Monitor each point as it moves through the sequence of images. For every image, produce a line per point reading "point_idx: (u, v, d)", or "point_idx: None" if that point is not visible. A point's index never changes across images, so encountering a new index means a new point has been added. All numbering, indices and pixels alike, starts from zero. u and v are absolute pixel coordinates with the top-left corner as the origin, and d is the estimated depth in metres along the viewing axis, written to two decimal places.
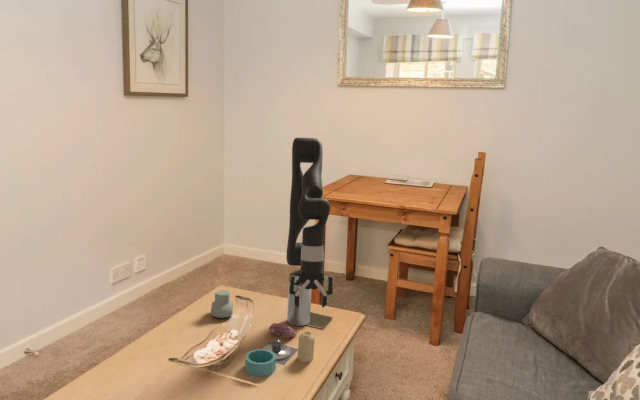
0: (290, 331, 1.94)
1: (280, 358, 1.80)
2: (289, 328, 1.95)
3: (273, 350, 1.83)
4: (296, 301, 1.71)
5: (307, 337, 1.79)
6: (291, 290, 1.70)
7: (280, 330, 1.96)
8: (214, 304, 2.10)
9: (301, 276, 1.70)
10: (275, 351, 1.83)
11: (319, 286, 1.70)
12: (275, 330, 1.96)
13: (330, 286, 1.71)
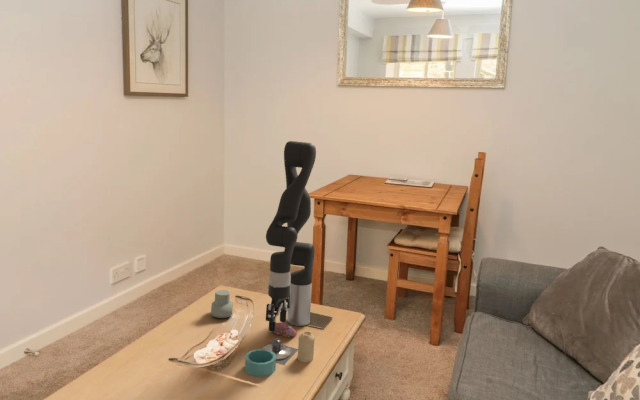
0: (291, 330, 1.95)
1: (280, 358, 1.80)
2: (290, 327, 1.95)
3: (273, 350, 1.83)
4: (273, 326, 1.77)
5: (307, 337, 1.79)
6: (272, 318, 1.75)
7: (281, 329, 1.96)
8: (214, 304, 2.10)
9: (277, 302, 1.77)
10: (275, 351, 1.83)
11: (286, 305, 1.83)
12: (276, 329, 1.97)
13: (289, 301, 1.86)
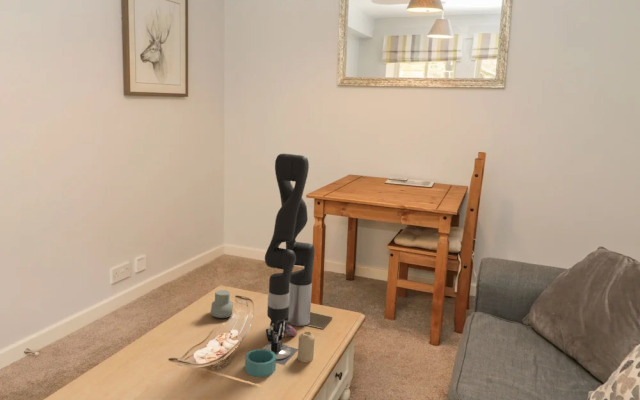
0: (291, 330, 1.95)
1: (280, 358, 1.80)
2: (290, 327, 1.96)
3: None
4: (275, 347, 1.82)
5: (307, 337, 1.79)
6: (274, 340, 1.79)
7: None
8: (214, 304, 2.10)
9: (275, 324, 1.78)
10: None
11: (283, 327, 1.84)
12: None
13: (286, 325, 1.87)
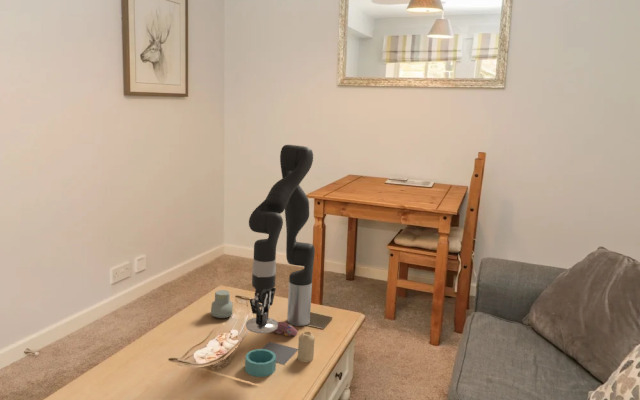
0: (291, 329, 1.95)
1: (266, 331, 1.66)
2: (290, 326, 1.96)
3: None
4: (260, 319, 1.68)
5: (307, 337, 1.79)
6: (259, 311, 1.65)
7: (282, 328, 1.97)
8: (214, 304, 2.10)
9: (260, 294, 1.64)
10: None
11: (270, 298, 1.70)
12: None
13: (273, 297, 1.73)
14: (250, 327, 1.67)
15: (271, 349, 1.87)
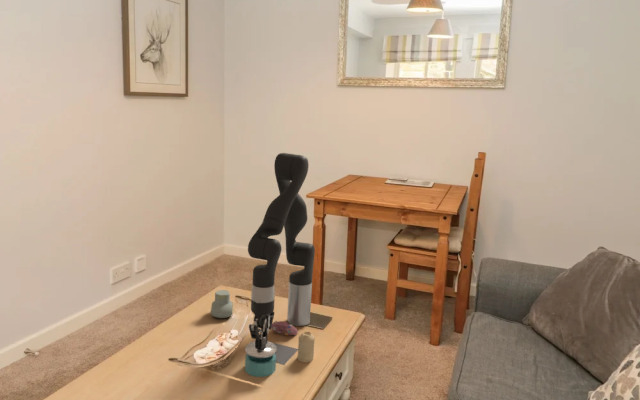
0: (292, 329, 1.96)
1: (265, 356, 1.68)
2: (291, 326, 1.97)
3: None
4: (259, 344, 1.69)
5: (307, 337, 1.79)
6: (258, 336, 1.66)
7: (282, 328, 1.97)
8: (214, 304, 2.10)
9: (259, 319, 1.66)
10: None
11: (268, 323, 1.71)
12: (277, 328, 1.98)
13: (271, 321, 1.75)
14: (249, 351, 1.69)
15: None
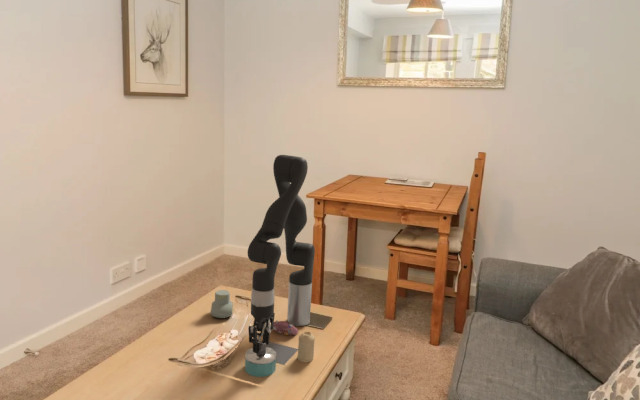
0: (292, 329, 1.96)
1: (264, 362, 1.68)
2: (291, 325, 1.97)
3: (257, 354, 1.72)
4: (257, 348, 1.68)
5: (307, 337, 1.79)
6: (256, 340, 1.66)
7: (283, 327, 1.98)
8: (214, 304, 2.10)
9: (259, 322, 1.66)
10: (259, 355, 1.71)
11: (269, 325, 1.72)
12: (277, 328, 1.98)
13: (273, 322, 1.76)
14: (249, 358, 1.70)
15: None
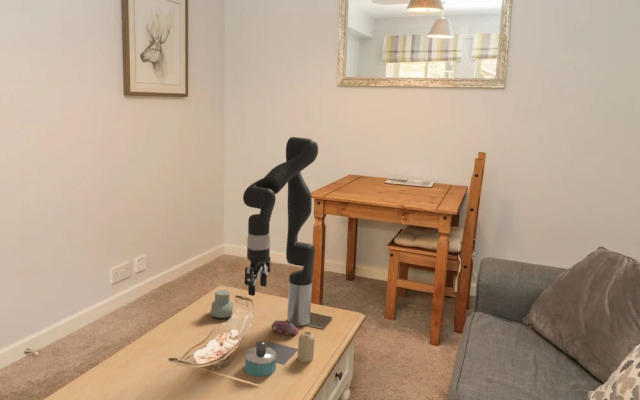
0: (292, 328, 1.96)
1: (264, 362, 1.68)
2: (291, 325, 1.97)
3: (257, 354, 1.72)
4: (253, 290, 1.73)
5: (307, 337, 1.79)
6: (251, 282, 1.70)
7: (283, 327, 1.98)
8: (214, 304, 2.10)
9: (256, 265, 1.72)
10: (259, 355, 1.71)
11: (265, 268, 1.78)
12: (277, 327, 1.99)
13: (269, 265, 1.82)
14: (249, 358, 1.70)
15: None
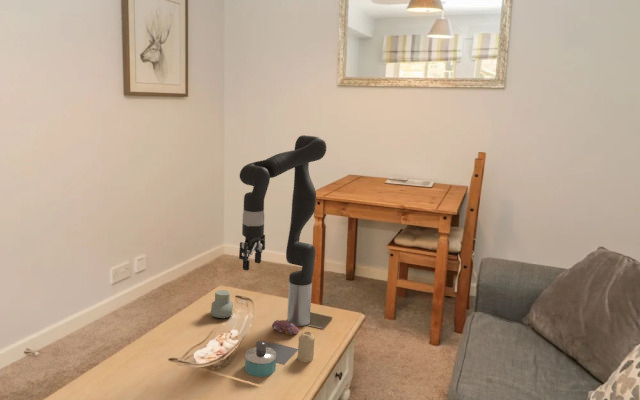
0: (293, 328, 1.97)
1: (264, 362, 1.68)
2: (292, 325, 1.97)
3: (257, 354, 1.72)
4: (247, 265, 1.80)
5: (307, 337, 1.79)
6: (246, 256, 1.77)
7: (283, 327, 1.98)
8: (214, 304, 2.10)
9: (250, 241, 1.79)
10: (259, 355, 1.71)
11: (260, 245, 1.85)
12: (278, 327, 1.99)
13: (264, 243, 1.89)
14: (249, 358, 1.70)
15: None
